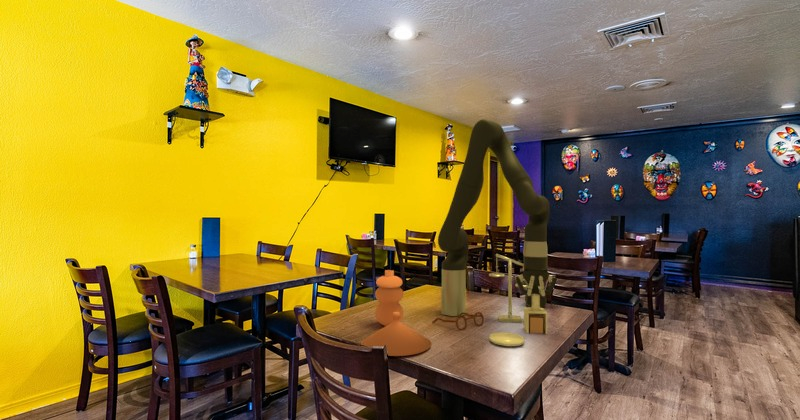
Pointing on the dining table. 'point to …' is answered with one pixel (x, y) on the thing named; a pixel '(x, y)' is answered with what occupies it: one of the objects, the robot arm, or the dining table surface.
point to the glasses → (464, 319)
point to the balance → (509, 290)
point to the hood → (535, 313)
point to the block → (535, 324)
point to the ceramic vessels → (394, 321)
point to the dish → (506, 339)
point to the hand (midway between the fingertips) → (535, 306)
